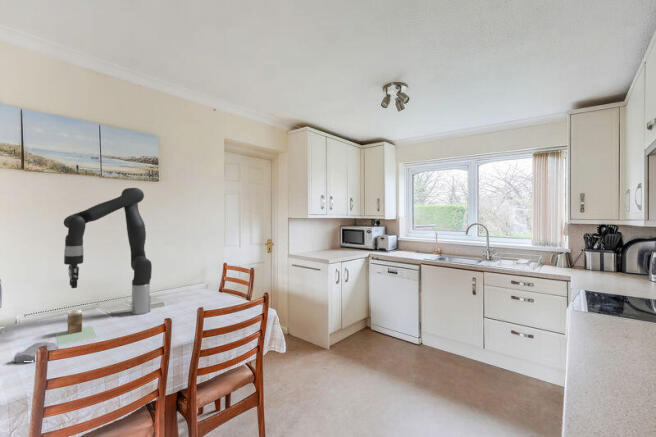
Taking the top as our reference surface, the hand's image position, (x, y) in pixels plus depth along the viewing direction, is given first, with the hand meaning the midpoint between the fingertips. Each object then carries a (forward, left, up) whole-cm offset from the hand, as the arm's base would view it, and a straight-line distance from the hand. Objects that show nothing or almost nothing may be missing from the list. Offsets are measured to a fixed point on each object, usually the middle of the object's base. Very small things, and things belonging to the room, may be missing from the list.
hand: (73, 286), depth 154 cm
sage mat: (0, +13, -22) cm, 25 cm away
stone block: (+13, +28, -22) cm, 38 cm away
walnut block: (0, +8, -21) cm, 22 cm away
